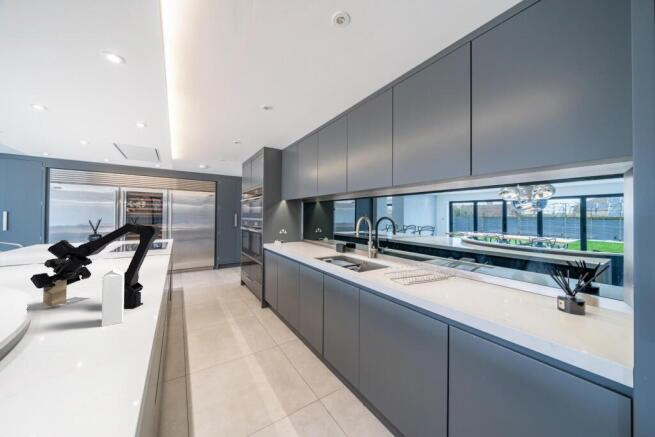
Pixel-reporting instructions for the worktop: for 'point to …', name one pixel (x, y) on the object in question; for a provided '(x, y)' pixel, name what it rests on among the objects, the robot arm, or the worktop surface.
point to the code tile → (74, 300)
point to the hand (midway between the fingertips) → (52, 288)
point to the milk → (112, 297)
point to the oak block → (55, 294)
